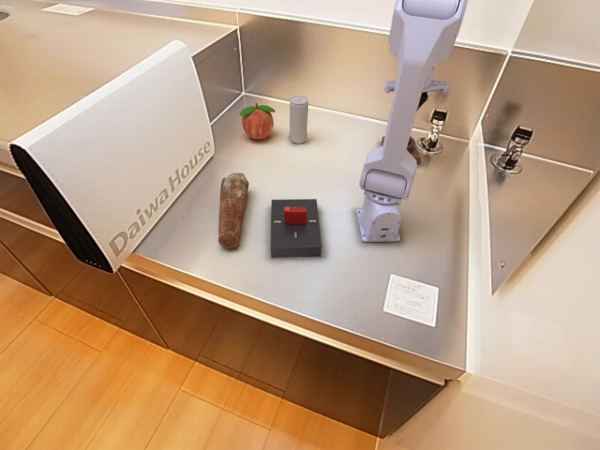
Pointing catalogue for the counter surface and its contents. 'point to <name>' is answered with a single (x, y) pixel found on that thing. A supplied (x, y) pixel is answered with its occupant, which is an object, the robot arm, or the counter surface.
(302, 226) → the panel
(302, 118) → the beverage can
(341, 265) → the counter surface
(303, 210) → the toaster knob
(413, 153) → the button block
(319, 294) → the counter surface
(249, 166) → the counter surface
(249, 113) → the fruit
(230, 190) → the bread
